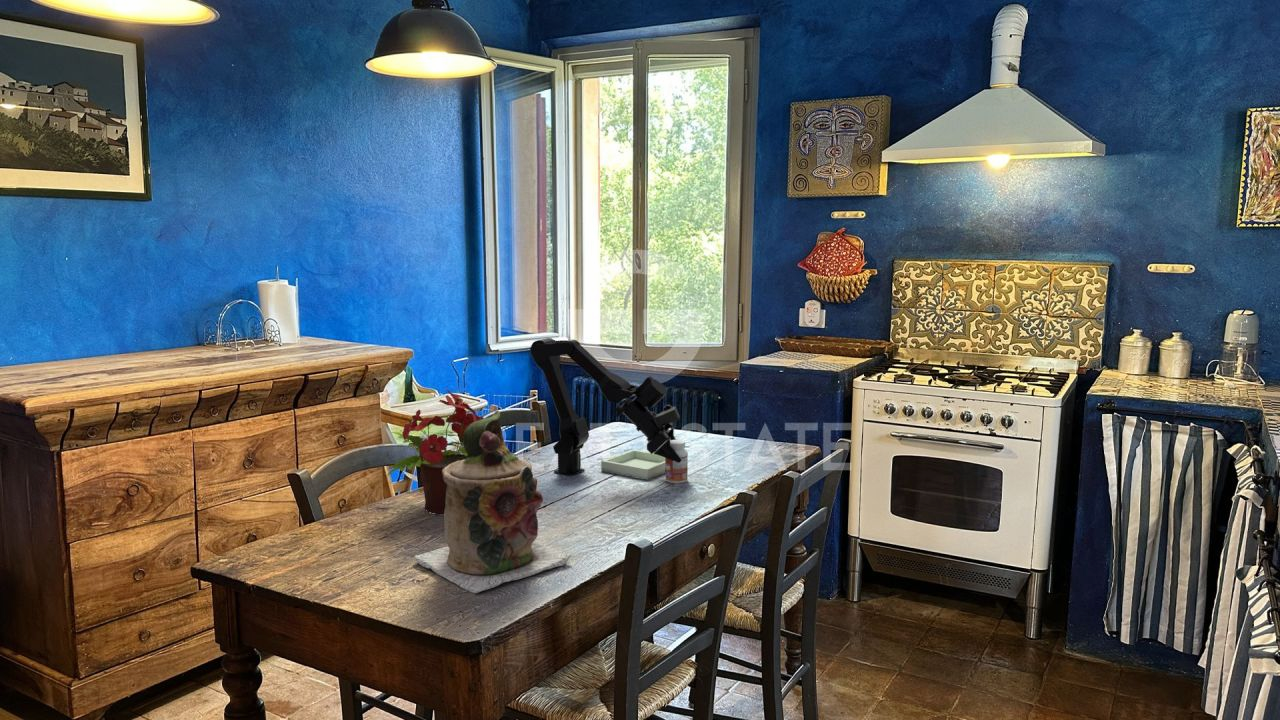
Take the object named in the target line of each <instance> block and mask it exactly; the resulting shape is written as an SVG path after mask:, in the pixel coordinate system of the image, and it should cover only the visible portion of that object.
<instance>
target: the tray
mask: <svg viewBox="0 0 1280 720" xmlns="http://www.w3.org/2000/svg"><path fill="white" fill-rule="evenodd" d="M600 462H601V463H600V464H601V465H600V468H601V472H603V471H605V472H604V473H609V472H610V473H609V474H614V473H616V474H615V475H619V474H620V475H619V476H624V475H626V476H625V477H629V476H632V477H631V478H635V477H638V478H637V479H640V478H642V479H641V480H645V479H646V481H648V480H650V478H651V479H654V478H655V477H656V478H657V476H660V474H661V475H663V474H665V457H662V456H659V455H657V454H654V453H653V454H651V453H650V452H649V451H643V450H639V449H638V450H637V449H631V450H628V451H626V452H623V453H620V454H617V455H614V456H611V457H609V458H606V459H603V460H601V461H600Z"/></svg>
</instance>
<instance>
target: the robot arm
mask: <svg viewBox="0 0 1280 720" xmlns="http://www.w3.org/2000/svg"><path fill="white" fill-rule="evenodd" d="M529 353H530V355H531V357H532V359H533V361H534V363H535V364H536V366H537V367H538V368H539V369H540V370H541V371H542V372H543V374H544V377H545V381H546V383H547V386H548V389H549V391H550V394H551V397H552V399H553V404H554V406H555V409H556V411H557V412H556V413H557V415H558V417H559V429H558V430H559V437H560V439H559V440H558V441H557V442H556V443H555V444H554V445H553V446H552V449H553V452H554V453H555V454H557V469H555V470H553V473H556V474H561V475H566V476H573V475H576V474H580V473H583V472H585V469H584V468H582V463H581V462H582V460H581V457H582V455H581V449H583V448H584V444H586V443H587V442H588V440H589V438H590V433H589V431H591V429H590V428H589V427H588V423H587V419H586V417H584V416H583V417H581V418H580V416H579V415H578V414H577V413H576V410H575V408H574V404H573V402H572V399H571V396H570V393H569V390H568V387H567V385H566V381H565V379H564V376H563V374H562V370H561V367H560V364H561V363H560V361H561V356H563V355H564V356H568V357H569V358H570V359H571V360H572V361H573V362H574V363H575V364H576V365H577V366H579V367H580V368H581V370H582V371H584V372H585V373H586V374H587V375H588V376H589V377H590V378H591V379H592V380H593V381H595V383H596V385H598V388H599V390H600V392H601V393H602V395H604V397H605V399H606V400H607V402H610V403H611V404H618V403H621V402H623V401H624V403H622V404H621V405H619V404H618V405H616V407H615V411H616V412H615V417H616V418H617V419H618V418H619V417H620V416H621V415H624V416H625V417H626V418H627V419H628V420H629V421H630V422H631V423H632V424H633V425H634V426H635V427H636V428H635V430H636V431H637V432H641V434H643V436H645V437H646V441H647V444H646V450H647V452H650V453H651V454H653V453H654V454H657V455H659V456H662V457H665V458H668V459H670V460H673V461H675V462H678V463H680V462H681V458H680V457H679V455H678V454H677V453H676V451H675V450H674V448H673V447H672V446H671V444H670V440H677V438H676V437H675V426H674V423H675V422H677V421H679V420H680V417H681V415H680V414H679V411H678V409H677V407H676V406H675V405H674V406H672V405H671V404H667V405H664V406H663V410H662V411H661V412H660V413H656V412H655V411H650V410H649V408H653V407H654V406H656V405H657V404H658V403H659V402H660V401H661V400H662V399H663V398H664V397H665V396H667V394H668V390H667V388H666V387H665V386H664V384H663V383H662V382H660V381H658V379H655V378H654V377H652V376H651V375H649V376H647V378H645V379H644V381H643V382H642V383H641V384H640V385H639V386H638V385H634V384H631V383H630V382H628V381H627V380H626V379H624V378H623V377H621V375H618V374H615V373H613V372H611V371H610V370H608V369H607V368H606V367H605V366H604V365H603V364H602V363H601V362H600V361H598V360H597V358H595V357H594V356H593V355H592V354H591V353H590V352H589V351H588V350H587V349H586V348H584V347H583V346H582V345H581V344H580V342H579V341H578V340H577V339H573V338H572V339H569V340H567V339H566V340H564V339H563V340H555V339H553V338H551V337H547V338H542V339H538V340H534V341H533V342H532V344H531V346H530V348H529ZM634 396H635V397H634ZM632 397H634V398H633V399H629V398H632ZM670 428H671V429H670Z"/></svg>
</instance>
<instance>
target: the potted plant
mask: <svg viewBox="0 0 1280 720" xmlns="http://www.w3.org/2000/svg"><path fill="white" fill-rule="evenodd" d="M445 390H446V392H447V393H448V394H449V395H450V396H451V397H450V396H449V395H448V394H447V395H445V400H443V399H440V400H438V402H439V403H442V404H444V405H446V406H452V407H453V408H454V411H453V413H452V414H451V415H449V416H447V417H446V419H443V418H442V417H440V416H439V415H435V416H433V418H430V417H428V416H427V417H425V418H423V417H421V411H422V410H421V409H418V410H416V412H415V414H413V415H412V416H411V419H412V420H410V422H409V423H405V424H404V427H403V430H402V431H400V432H401V433H400V432H395V431H390V433H391V434H394V435H395V434H396V435H398V436H397V437H396V438H397V439H403V442H402V444H404V443H406V444H407V443H408V447H413V446H416V448H415V453H419V455H411V456H408V457H404V458H402V459H401V460H399V461H397V462H396V463H394V464H393V465H391V466H390V467H389V468H390V469H391V470H390V471H389V472H388V473H387V475H386V477H388V476H389V475H391V474H392V473H394V472H396V471H397V470H400V471H401V472H402V473H403V472H404V471H405V469H408V470H411V471H412V470H413V468H414V467H419V468H420V473H421V481H422V486H423V494H424V495H423V496H424V500H425V501H424V502H425V504H424V510H425V511H426V510H427V511H428V512H427V511H426V512H427V513H429V512H431V513H430V514H432V513H435V514H434V515H438V514H444V511H445V506H446V503H445V501H446V489H447V484H446V483H445V481H444V479H443V474H442V470H443V469H444V468H445V467H447V466H448V465H449V464H451V463H454V462H456V461H461V460H465V459H466V457H467V455H468V454H467V453H466V450H465V448H464V445H463V441H462V442H460V440H461V436H464V431H465V430H466V428H467V427H468V426H469V425H470V424H472V423H473V422H475V421H479V420H482V419H485V418H484V416H478V415H477V412H476V411H475V410H474V409H473V408H472V407H471V406H470V405H469V404H468V403H466V401H464V399H463V398H461V397H460V395H458V394H455V393H452V392H451V391H450V390H448V389H446V388H445ZM467 411H470V412H471V413H469V412H467ZM418 421H419V422H418ZM446 423H448V424H447V426H446V429H445V436H444V435H439V436H438V434H436V433H432V434H430V429H429V428H430V425H434V426H435V427H436V426H437V427H444V426H445V425H446ZM450 424H451V431H452V432H454V433H455V434H457V435H459V438H458V441H451V442H448V439H447V437H448V435H447V434H448V428H449V426H450ZM426 428H427V433H425V432H424V431H423V430H424V429H426ZM411 432H422V433H423V434H424V435H425V436H427V438H424V439H423V440H422V438H421V437H418V436H414V435H412V434H411V435H410V433H411ZM459 445H460V446H459ZM448 446H452V447H454V446H455V447H456V450H453V449H452V450H451V449H449V450H448V449H447V447H448ZM392 468H393V469H392Z"/></svg>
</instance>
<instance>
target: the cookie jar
mask: <svg viewBox="0 0 1280 720" xmlns="http://www.w3.org/2000/svg"><path fill="white" fill-rule="evenodd" d="M500 419H501V412H500V411H499V410H496V411H494V413H493V415H492V416H490V417H487V418H484V419H482V420H479V421H475V422H473V423H472V424H470V425H469V426H468V427H467V428H466V430H465V431H464V435H463V436H462V438H463V439H462V442H463V445H462V446H463V447H464V448H465V450H466V453H467V454H468V455H467V457H466V459H465V460H461V461H456V462H454V463H451V464H449V465H448V466H447V467H445V468H444V469H443V470H442V474H443V479H444V481H445V483H446V484H447V489H446V501H445V503H446V506H445V511H444V515H443V517H444V520H443V521H444V523H443V524H444V526H443V527H444V535H443V536H444V541H445V544H446V545H447V546H445V547H444V546H443V547H440V548H437V549H433V550H432V551H427V552H424V553H421V554H415V555H414V559H415V561H416V562H417V563H418V564H419V565H420V566H421V567H423V568H426V569H429V570H431V571H432V572H434V573H435V574H437V575H438V576H440V577H442V578H445V580H448V581H450V582H451V583H453V584H454V585H457V586H459V587H460V588H461V589H463V590H465V591H468V592H470V593H472V594H479V593H480V592H483V591H487V590H491V589H492V588H495V587H498V586H500V585H501V584H503V583H507V582H508V583H509V582H511V581H517V580H518V581H519V580H520V579H523V578H527V577H531V576H533V575H536V574H540V573H541V572H545V571H548V570H551V569H553V568H556V567H562V566H565V565H566V564H567V563H568V562H569V560H570V558H571V557H572V554H573V553H570V552H568V551H564V550H561V549H555V548H551V547H547V546H546V545H544V544H542V543H539V542H538V541H536V539H537V538H538V534H539V533H538V531H539V521H538V517H537V516H538V515H537V513H538V512H539V510H540V508H541V506H542V504H543V502H544V496H543V494H542V493H541V492H540V491H539V490H537V487H538V479H537V477H534V474H533V471H532V470H533V469H532V468H533V466H532V464H530V463H529V462H528V461H526V460H522V459H520V458H519V457H517V455H516V454H515V453H514V452H511V451H510V450H509V448H508V446H507V445H506V443H505V439H504V435H503V430H502V427H501V425H502V424H501V422H500Z"/></svg>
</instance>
